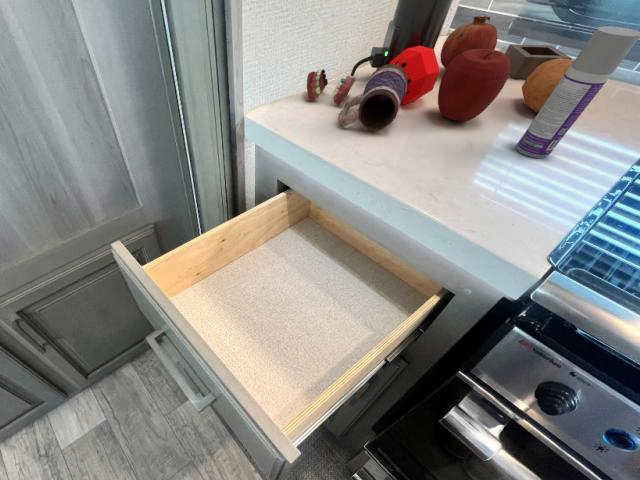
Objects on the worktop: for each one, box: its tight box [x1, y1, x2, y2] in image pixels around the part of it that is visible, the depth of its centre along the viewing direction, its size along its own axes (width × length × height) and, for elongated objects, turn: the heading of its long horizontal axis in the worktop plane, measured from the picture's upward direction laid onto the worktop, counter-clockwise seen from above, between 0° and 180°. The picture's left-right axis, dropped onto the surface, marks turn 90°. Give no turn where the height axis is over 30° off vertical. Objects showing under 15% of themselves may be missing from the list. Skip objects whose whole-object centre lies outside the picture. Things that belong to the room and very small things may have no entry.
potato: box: [521, 58, 575, 113], centre depth 57 cm, size 9×11×8 cm
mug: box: [337, 64, 408, 132], centre depth 56 cm, size 10×7×12 cm
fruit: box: [440, 15, 498, 69], centre depth 68 cm, size 11×10×10 cm
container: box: [515, 25, 640, 159], centre depth 45 cm, size 5×5×15 cm
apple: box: [437, 49, 510, 122], centre depth 54 cm, size 10×10×10 cm
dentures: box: [306, 68, 356, 106], centre depth 62 cm, size 6×5×9 cm
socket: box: [504, 43, 573, 80], centre depth 71 cm, size 9×9×4 cm
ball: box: [390, 46, 441, 105], centre depth 60 cm, size 8×8×8 cm
